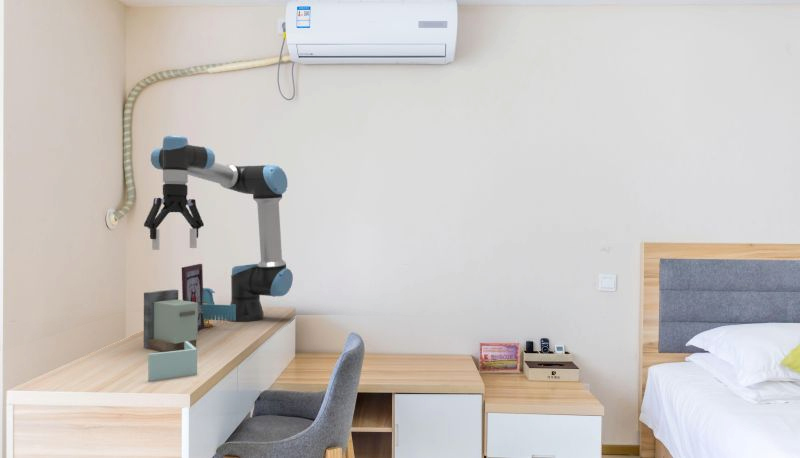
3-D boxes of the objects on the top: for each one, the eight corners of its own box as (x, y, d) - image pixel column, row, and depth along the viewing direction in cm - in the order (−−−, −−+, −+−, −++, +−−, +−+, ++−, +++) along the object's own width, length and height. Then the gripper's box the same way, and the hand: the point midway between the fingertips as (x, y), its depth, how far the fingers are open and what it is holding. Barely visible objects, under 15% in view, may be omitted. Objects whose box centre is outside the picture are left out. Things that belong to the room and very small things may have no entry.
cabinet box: (175, 334, 188) (175, 299, 187) (198, 339, 180) (199, 302, 180) (153, 338, 181) (153, 302, 181) (176, 344, 174) (177, 305, 174)
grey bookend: (173, 341, 190) (174, 289, 190) (196, 346, 183) (196, 292, 183) (143, 347, 181) (143, 292, 181) (166, 353, 174) (166, 296, 174)
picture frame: (186, 337, 198) (187, 267, 197) (159, 336, 198) (160, 267, 198) (204, 328, 214) (204, 263, 214) (179, 327, 215) (179, 263, 214)
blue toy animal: (243, 325, 220) (243, 287, 219) (235, 330, 211) (235, 290, 211) (175, 324, 222) (175, 286, 221) (164, 328, 213) (164, 289, 213)
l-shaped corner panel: (187, 366, 160) (187, 341, 160) (197, 376, 150) (197, 349, 150) (142, 372, 153) (142, 345, 153) (148, 383, 143) (149, 354, 143)
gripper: (200, 186, 193) (200, 246, 193) (132, 181, 172) (132, 249, 173) (214, 185, 189) (214, 247, 189) (145, 181, 168) (145, 250, 168)
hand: (175, 248), depth 181 cm, fingers open, 13 cm apart
